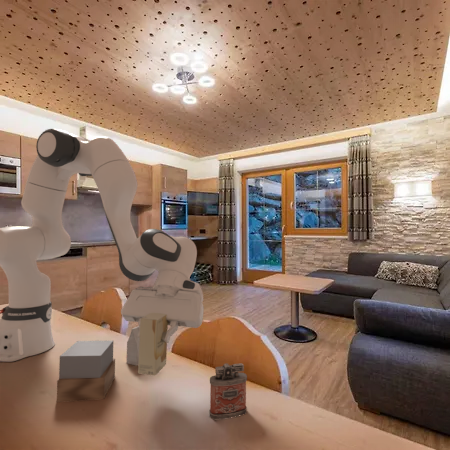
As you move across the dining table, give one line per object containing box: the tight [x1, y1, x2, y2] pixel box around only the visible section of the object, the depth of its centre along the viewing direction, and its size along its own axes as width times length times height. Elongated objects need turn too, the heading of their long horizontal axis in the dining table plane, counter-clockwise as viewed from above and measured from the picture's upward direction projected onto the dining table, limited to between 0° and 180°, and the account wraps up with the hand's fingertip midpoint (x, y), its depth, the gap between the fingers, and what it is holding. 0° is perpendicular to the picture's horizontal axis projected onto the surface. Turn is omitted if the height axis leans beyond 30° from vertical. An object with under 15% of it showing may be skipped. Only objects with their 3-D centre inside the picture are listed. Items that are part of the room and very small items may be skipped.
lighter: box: [208, 362, 248, 420], centre depth 60 cm, size 8×3×10 cm, turn 105°
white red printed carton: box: [126, 325, 140, 367], centre depth 84 cm, size 4×7×10 cm, turn 157°
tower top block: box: [58, 340, 114, 379], centre depth 68 cm, size 9×9×5 cm
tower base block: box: [56, 358, 116, 403], centre depth 68 cm, size 10×10×5 cm
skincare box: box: [137, 313, 169, 376], centre depth 65 cm, size 6×4×12 cm
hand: (152, 340), depth 65 cm, fingers closed on skincare box, 4 cm apart
